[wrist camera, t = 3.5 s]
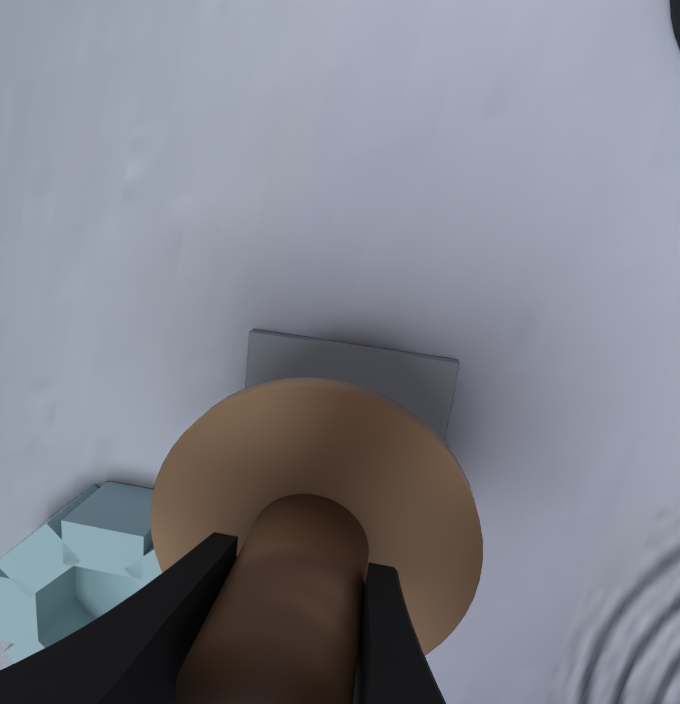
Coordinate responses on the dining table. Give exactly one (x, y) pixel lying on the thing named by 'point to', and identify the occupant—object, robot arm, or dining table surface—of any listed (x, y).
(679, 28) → the travel mug
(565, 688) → the dining table surface
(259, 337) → the mat
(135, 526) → the bowl
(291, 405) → the lid
